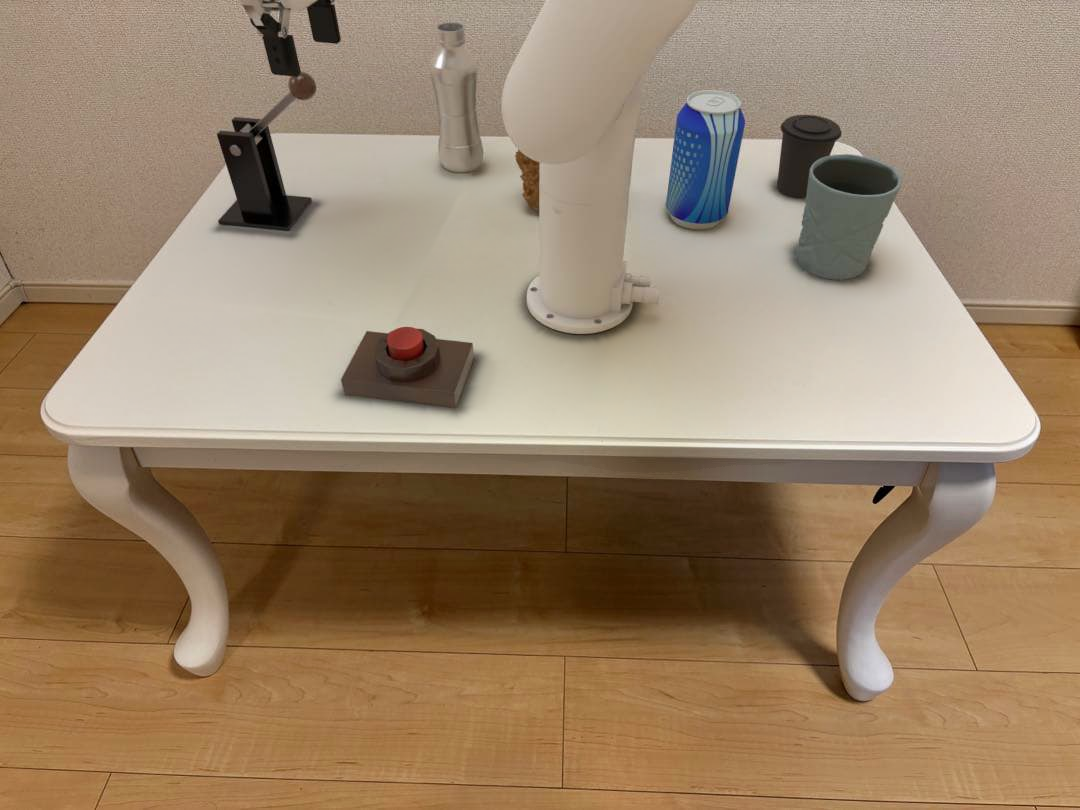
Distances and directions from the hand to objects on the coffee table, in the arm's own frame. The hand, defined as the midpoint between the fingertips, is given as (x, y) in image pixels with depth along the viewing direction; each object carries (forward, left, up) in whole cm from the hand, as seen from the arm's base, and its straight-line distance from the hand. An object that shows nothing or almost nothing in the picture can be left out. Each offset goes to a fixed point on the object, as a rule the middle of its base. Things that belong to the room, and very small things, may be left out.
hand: (307, 57), depth 84 cm
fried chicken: (-27, -15, -24) cm, 39 cm away
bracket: (+13, -5, -24) cm, 27 cm away
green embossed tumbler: (-62, -7, -24) cm, 67 cm away
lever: (+7, -5, -10) cm, 13 cm away
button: (-16, +23, -20) cm, 35 cm away
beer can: (-45, -15, -24) cm, 53 cm away
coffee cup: (-59, -25, -24) cm, 68 cm away
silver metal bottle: (-10, -23, -24) cm, 34 cm away
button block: (-16, +23, -24) cm, 37 cm away
